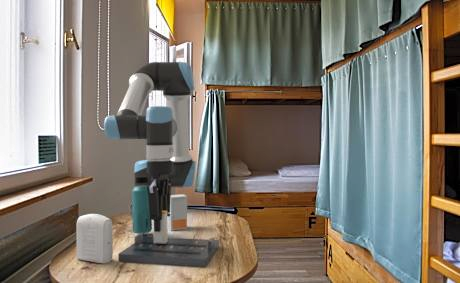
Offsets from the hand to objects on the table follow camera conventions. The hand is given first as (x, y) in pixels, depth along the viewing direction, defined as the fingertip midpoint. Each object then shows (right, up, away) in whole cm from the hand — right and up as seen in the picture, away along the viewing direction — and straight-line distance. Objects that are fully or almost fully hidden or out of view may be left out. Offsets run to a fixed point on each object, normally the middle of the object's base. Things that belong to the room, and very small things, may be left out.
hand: (160, 240), depth 99 cm
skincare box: (+1, -3, +23) cm, 23 cm away
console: (+4, -3, -3) cm, 6 cm away
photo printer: (-16, -3, -7) cm, 18 cm away
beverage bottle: (-9, -3, +15) cm, 18 cm away
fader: (0, -1, 0) cm, 1 cm away
